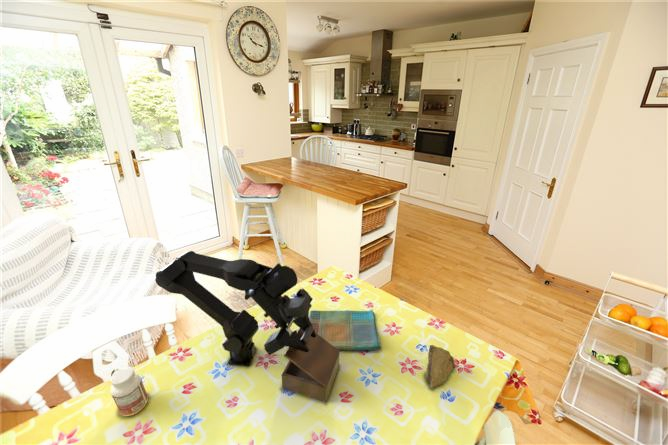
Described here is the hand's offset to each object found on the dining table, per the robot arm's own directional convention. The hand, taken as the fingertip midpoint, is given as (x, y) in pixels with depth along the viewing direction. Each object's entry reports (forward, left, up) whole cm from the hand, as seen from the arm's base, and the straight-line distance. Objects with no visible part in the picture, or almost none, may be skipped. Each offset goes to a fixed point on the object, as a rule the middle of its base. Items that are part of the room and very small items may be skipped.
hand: (311, 343), depth 77 cm
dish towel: (+8, +18, -13) cm, 24 cm away
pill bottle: (-44, -12, -13) cm, 47 cm away
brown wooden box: (0, 0, -13) cm, 13 cm away
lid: (0, 0, -4) cm, 4 cm away
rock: (+37, +4, -13) cm, 39 cm away
